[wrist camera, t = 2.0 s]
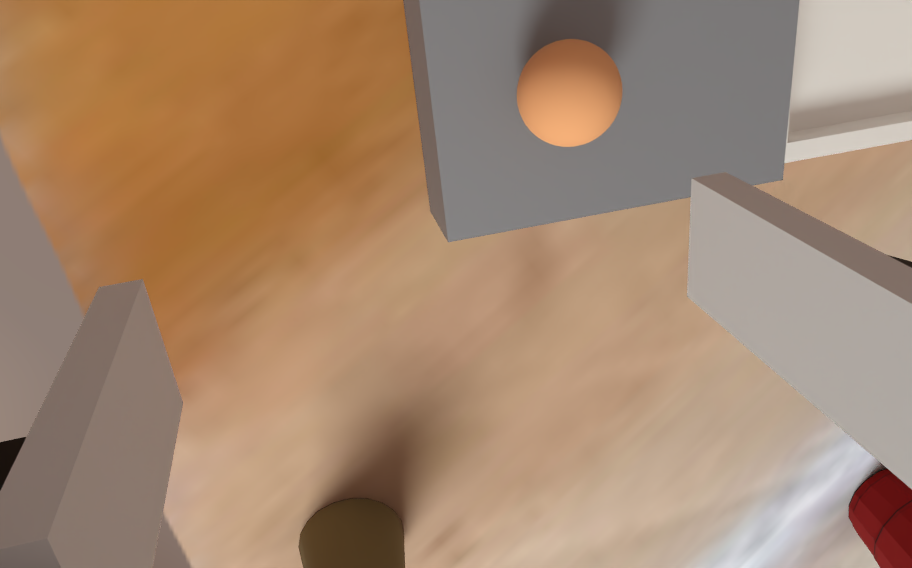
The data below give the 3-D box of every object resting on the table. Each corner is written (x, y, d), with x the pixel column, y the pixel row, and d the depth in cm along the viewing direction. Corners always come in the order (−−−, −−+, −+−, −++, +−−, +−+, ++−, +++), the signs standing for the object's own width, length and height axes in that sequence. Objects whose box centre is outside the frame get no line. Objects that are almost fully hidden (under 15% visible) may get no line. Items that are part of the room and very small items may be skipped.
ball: (596, 26, 30) (640, 38, 26) (598, 125, 31) (640, 149, 28) (500, 40, 29) (532, 55, 25) (507, 140, 31) (538, 167, 27)
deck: (752, -106, 33) (809, -111, 29) (735, 157, 38) (782, 179, 35) (395, -63, 30) (411, -63, 27) (430, 212, 36) (448, 242, 32)
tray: (1022, -139, 35) (1062, -143, 33) (971, 114, 40) (1003, 122, 38) (761, -108, 33) (790, -110, 31) (743, 155, 38) (766, 166, 36)
